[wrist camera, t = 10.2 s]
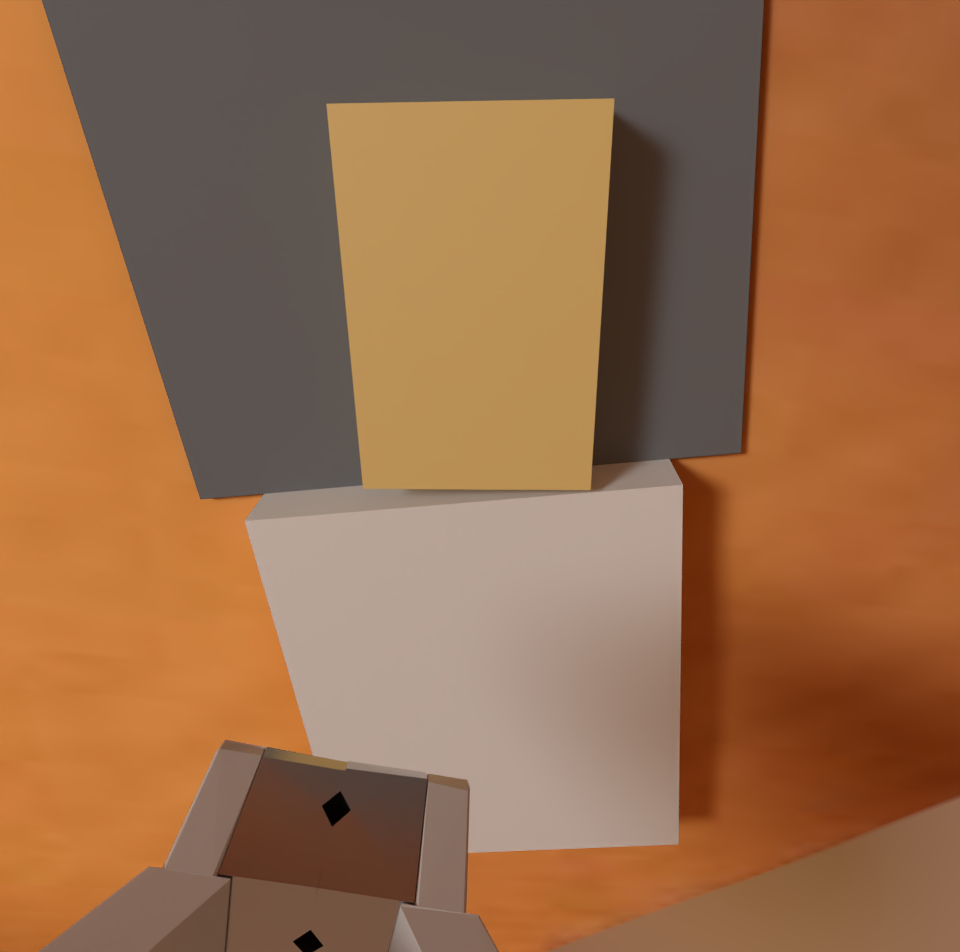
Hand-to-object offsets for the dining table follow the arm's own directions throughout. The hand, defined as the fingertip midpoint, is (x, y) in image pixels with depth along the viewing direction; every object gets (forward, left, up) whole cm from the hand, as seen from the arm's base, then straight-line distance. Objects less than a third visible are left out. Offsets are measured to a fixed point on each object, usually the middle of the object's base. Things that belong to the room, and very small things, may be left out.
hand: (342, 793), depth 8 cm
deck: (+1, -9, -13) cm, 15 cm away
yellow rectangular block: (+2, +3, -12) cm, 13 cm away
